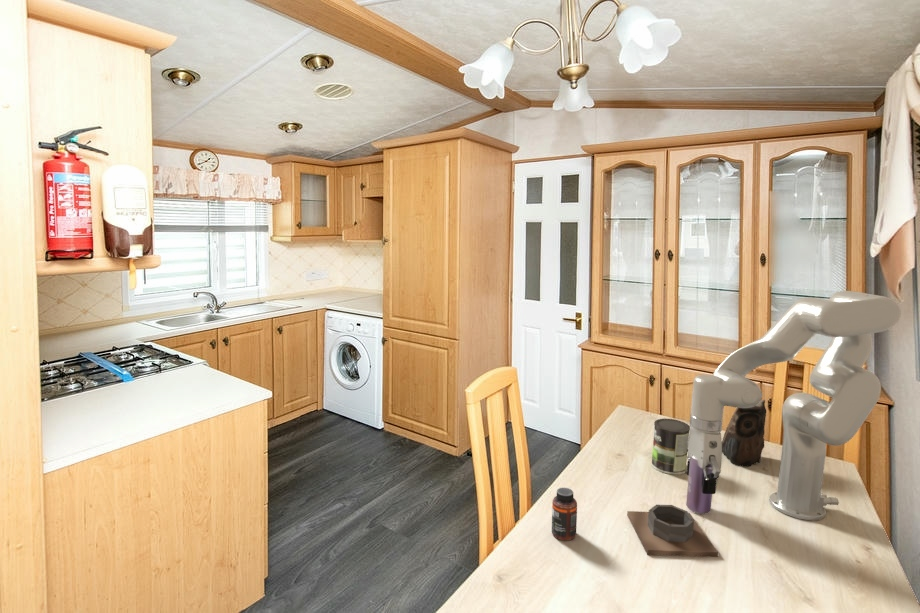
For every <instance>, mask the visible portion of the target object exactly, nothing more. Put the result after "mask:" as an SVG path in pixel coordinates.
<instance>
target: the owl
mask: <svg viewBox="0 0 920 613" xmlns="http://www.w3.org/2000/svg"><path fill="white" fill-rule="evenodd" d="M765 402H766V399H761V401H760V402H759V403H758V404H757V405H756V406H754V407H751V408H737V407H736V409H735V410H734V412H733V414H732V415H731V418H730V420H729V422H728V424H727V427H726V428H725V431H724V434H723V437H722V455H724V456H725V457H726V459H727V460H728V461H729V462H730V463H731V464H732V465H734V466H736V467H743V468H744V467H745V468H746V467H749V468H751V467H752V466H755V465H757V463H758V464H759V463H761V457H762V452H763V450H764V448H765V439H764V436H765V426H766V417H767V408H766V406H765Z"/></svg>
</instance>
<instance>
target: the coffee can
mask: <svg viewBox="0 0 920 613" xmlns="http://www.w3.org/2000/svg"><path fill="white" fill-rule="evenodd" d="M653 424H654V428H653V440H652V441H653V442H652V454H651V455H652V456H651V463H650V464H651V467H652V468H653V469H655V470H656V471H658V472H660V473H663V474H668V475H673V476H674V475H677V476H678V475H682V474H685V473H687V463H688V459H687V456H688V452H687V450H688V444H687V441H689V434H690V428H691V427H690V424H688V423H686V422H684V421H682V420H679V419H674V418H673V419H672V418H659V419H656V420H654V423H653Z"/></svg>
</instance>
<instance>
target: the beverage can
mask: <svg viewBox="0 0 920 613" xmlns="http://www.w3.org/2000/svg"><path fill="white" fill-rule="evenodd" d="M689 461H690V465H689V475H688V477H687V478H688V479H687V491H686V502H685V504H686V508H687V509H688V511H690V512H692V513H694V514H697V515H707V514H709V513H710V512H711V511H712V510H711V509H712V503H713V502H712V501H713V500H712V499H713V494H703V493H702V485H703V478H705V476H704V471H703V469H702V468H700V467H699V466H698V462H697V459H696V458H695V457H693V455H692V454H691V457H690V460H689ZM706 467H712V466H711V465H707V466H706ZM707 471H708V475H709V474H710V473H712V470H707Z"/></svg>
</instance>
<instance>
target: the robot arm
mask: <svg viewBox="0 0 920 613" xmlns="http://www.w3.org/2000/svg"><path fill="white" fill-rule="evenodd" d="M901 314H902V311H901V308H900V305H899V304H898V302H896V300H894V299H892V298H889V297H887V296H883V295H877V294H872V293H865V292H861V291H853V290H841V291H840V290H839V291H836V292H835V293H833V294H832V295H831V296H830V297H829V299H821V298H817V297H803V298H799V299H797V300H796V301H795V302H794V303H793V304H792V305H791V306H789V308H788V309H787V310H786V311H785V312H784V313H783V314H782V315H781V316H780V317H779V319H777V320H776V321H775V323H774V324H773V325H771V327H770V328H769V329H768V330H767V331H766V333H765V334H763V335H762V336H761V337H760V338H758V339H756V340H754V341H752V342H750V343H748V344H746V345H744V346H743V347H740V348H738V349H737V350H735V351H734V352H731V353H730V354H729V355H728V356H727V357H726V358H725V359H724V360H723V361H722V362H721V363H720V364H719V365H718V367H716V368H715V370H714V372H713V373H712V374H698V375H696V376H695V377H694V378H693V381H692V382H693V383H692V394H691V403H690V404H691V407H690V418H689V426H690V431H689V441H687V444H688V450H687V463H686V475H687V476H689V465H690V457H691V454H692V455H693V457H695V458H696V459H697V462H698V466H699V467H700V468H702V469H703V471H704V476H705V478H703V485H702V493H703V494H712V495H715V494H716V492H717V482H718V480H719V477H720V473H721V472H722V470H721V469H722V459H723V458H722V457H723V453H722V440H723V438H722V433H721V432H722V428H723V419H724V417H723V416H724V408H725V407H731V408H736V409H737V408H751V407H754V406H756V405H757V404H758V403H759V402H760V401H761V400H763V399H762V398H763V392H762V389H761V387H760V386H759V385H758V384H757V383H756V382H755V381H753V380H751V379H749V378H747V377H746V376H747V375H749V373H750V372H752V371H753V370H755V369H756V368H758V367H762V366H765V365H769V364H778V363H779V364H780V363H783V362H789V361H792V360H793V359H794V358H795V357H796V356H797V355H798V354H799V353H800V352H801V351H802V349H803V348H804V347H805V346H806V345H807V344H808V343H809V342H810V341H811V340H813V338H814V337H815V336H816V335H821V336H825V337H828V338H831V339H830V341H829V343H828V345H827V347H826V348H825V350H824V352H823V353H822V355H821V357H820V358H819V359H818V360H817V363H816V364H815V366H814V367H813V368H812V370H811V372H810V374H809V378H808V379H809V384H810V385H811V387H813V389H815V390H816V391H818V392H819V393H821V394H823V395H825V396H828V397H830V398H832V399H831V400H830V401H827V399H826V400H825V399H823V398H821V397H819V396H816V395H813V394H811V393H808V392H807V393H806V392H796V393H793V394H791V395H789V396H788V397H787V398H786V399H785V401H784V402H783V403H782V411H781V417H782V418H781V419H782V426H783V434H782V448H781V456H780V457H781V458H780V465H779V474H778V483H777V489H776V490H777V491H776V492H773V493H771V494H770V496H769V503H770V505H772V507H773V508H775V510H777V511H779V512H781V513H783V514H785V515H788V516H790V517H793V518H796V519H800V520H806V521H819V520H822V519H823V518H825V517H826V508H825V507H826V506H827V505H829V506H838V505H839V504H840V502H839V499H838V498H837V497H836V496H835V497H834V496H833V497H832V496H830V497H828V496H827V493H824V492H823V493H822V487H823V486H822V484H823V478H824V477H823V476H824V469H825V463H826V456H827V445H829V446H838V447H839V446H842V445H844V444H846V443H849V441H850V440H851V439H853V438H854V436H856V434H857V432H858V431H859V430H860V428H861V427H862V425H863V424H864V423H865V421H866V420H867V418H868V416H869V415H870V413H871V412H872V411H873V409H874V407H875V406H876V404H877V402H878V401H879V399H880V397H881V392H882V384H881V381H880V378H878V376H877V375H876V374H875V373H874V372H872V371H870V370H868V369H866V368H863V367H864V365H865V363H866V361H867V360H868V358H869V356H870V355H871V352H872V350H873V336H872V334H877V333H882V332H886V331H888V330H890V329H892V328H893V327H895V326H896V325H897V324H898V322H899V321H900V318H901ZM707 465H711V466H712V467H706V466H707ZM707 470H712V473H710V474H709V475H708V471H707Z"/></svg>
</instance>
